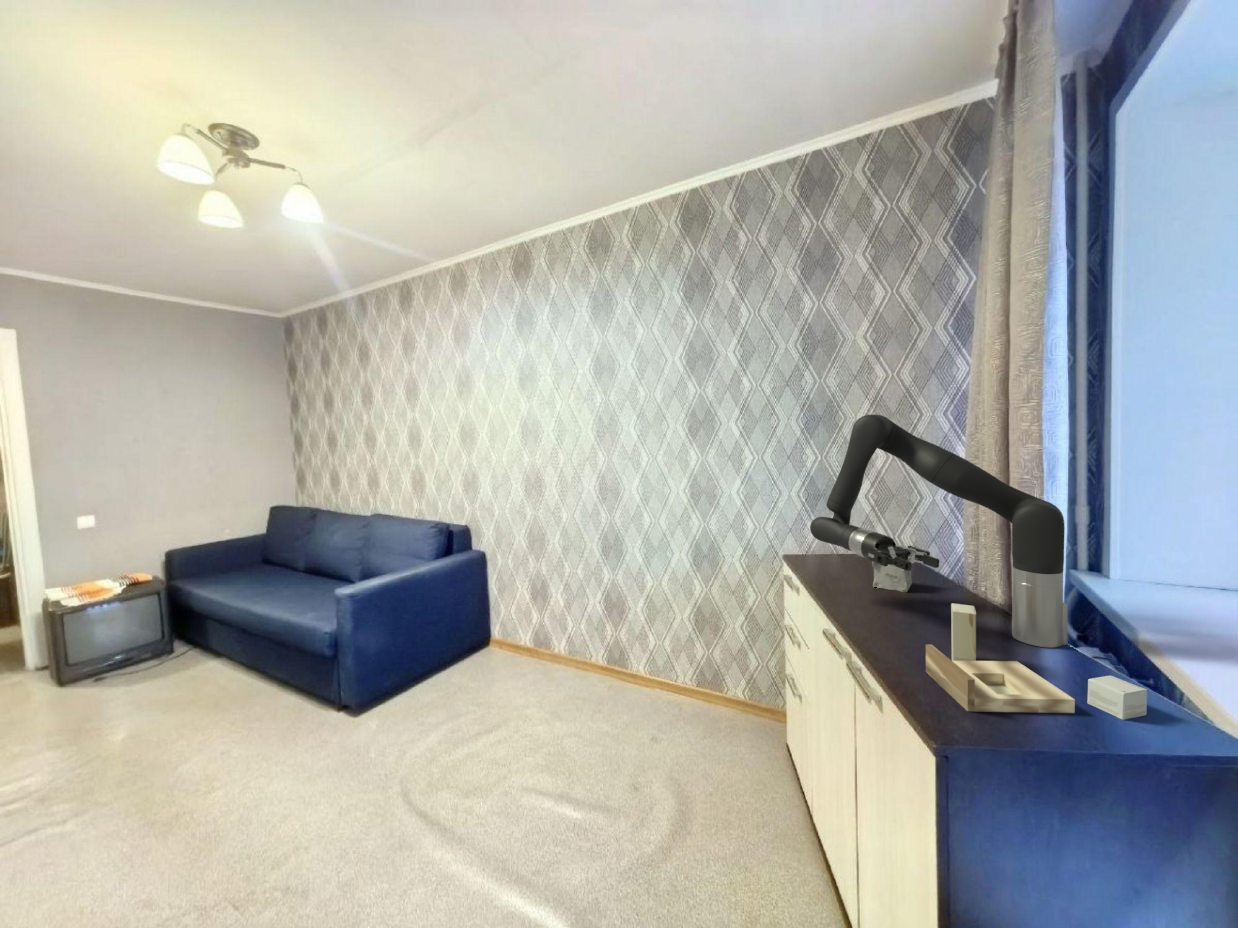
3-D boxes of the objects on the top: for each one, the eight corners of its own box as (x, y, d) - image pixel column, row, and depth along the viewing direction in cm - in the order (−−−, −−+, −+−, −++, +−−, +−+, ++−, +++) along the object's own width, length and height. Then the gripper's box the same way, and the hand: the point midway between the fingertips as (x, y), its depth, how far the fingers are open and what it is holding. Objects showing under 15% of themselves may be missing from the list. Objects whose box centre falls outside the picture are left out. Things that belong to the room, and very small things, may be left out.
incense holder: (871, 588, 161) (871, 557, 160) (879, 582, 167) (878, 551, 166) (905, 594, 154) (905, 561, 153) (912, 587, 160) (912, 555, 159)
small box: (1147, 715, 88) (1148, 688, 87) (1122, 721, 87) (1123, 693, 86) (1109, 699, 93) (1110, 673, 93) (1086, 703, 92) (1086, 678, 92)
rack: (1016, 672, 104) (1017, 644, 104) (1074, 712, 89) (1075, 680, 89) (925, 671, 106) (925, 644, 106) (967, 711, 91) (967, 679, 91)
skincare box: (976, 670, 106) (976, 614, 105) (952, 666, 108) (952, 611, 107) (974, 658, 111) (974, 604, 110) (951, 654, 113) (951, 602, 113)
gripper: (850, 533, 131) (902, 552, 116) (893, 530, 135) (948, 547, 120) (848, 561, 132) (899, 583, 117) (891, 556, 136) (945, 577, 121)
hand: (924, 565), depth 118 cm, fingers open, 8 cm apart
